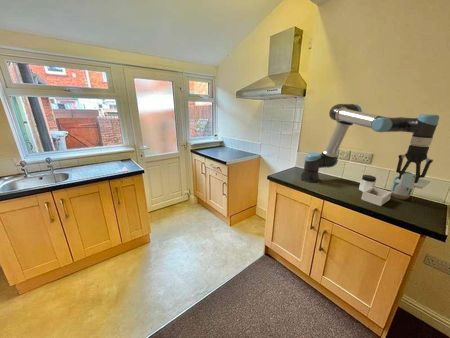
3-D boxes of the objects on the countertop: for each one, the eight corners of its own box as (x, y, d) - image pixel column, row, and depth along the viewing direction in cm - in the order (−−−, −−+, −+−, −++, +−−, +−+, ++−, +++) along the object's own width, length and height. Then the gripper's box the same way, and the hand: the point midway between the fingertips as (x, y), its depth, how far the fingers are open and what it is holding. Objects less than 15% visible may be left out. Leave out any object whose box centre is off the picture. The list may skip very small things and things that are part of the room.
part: (370, 196, 133) (371, 192, 132) (370, 195, 135) (371, 190, 134) (376, 198, 130) (377, 193, 129) (376, 196, 133) (378, 192, 132)
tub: (360, 200, 129) (363, 191, 127) (370, 194, 138) (372, 186, 136) (380, 207, 120) (382, 197, 118) (389, 200, 129) (392, 192, 127)
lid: (390, 184, 109) (394, 171, 107) (403, 177, 121) (406, 165, 118) (419, 192, 100) (424, 178, 97) (429, 183, 111) (434, 171, 109)
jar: (369, 194, 137) (373, 179, 134) (356, 190, 144) (360, 176, 140) (374, 192, 142) (378, 177, 138) (362, 188, 149) (365, 174, 145)
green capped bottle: (412, 203, 126) (421, 176, 120) (392, 200, 130) (401, 174, 124) (404, 196, 136) (412, 171, 130) (386, 194, 139) (393, 169, 133)
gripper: (396, 143, 103) (384, 183, 110) (441, 148, 90) (425, 193, 97) (400, 142, 107) (389, 180, 114) (445, 147, 94) (428, 190, 101)
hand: (405, 186), depth 105 cm, fingers closed on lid, 4 cm apart
